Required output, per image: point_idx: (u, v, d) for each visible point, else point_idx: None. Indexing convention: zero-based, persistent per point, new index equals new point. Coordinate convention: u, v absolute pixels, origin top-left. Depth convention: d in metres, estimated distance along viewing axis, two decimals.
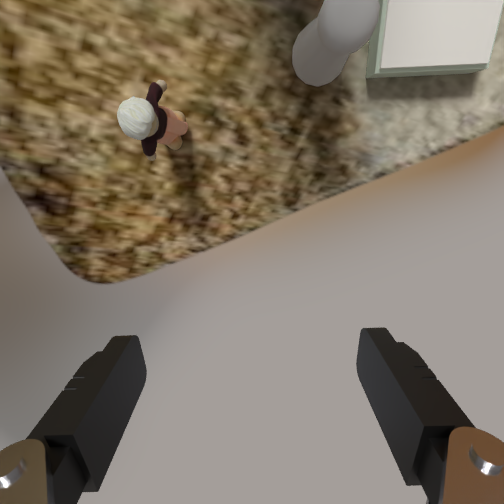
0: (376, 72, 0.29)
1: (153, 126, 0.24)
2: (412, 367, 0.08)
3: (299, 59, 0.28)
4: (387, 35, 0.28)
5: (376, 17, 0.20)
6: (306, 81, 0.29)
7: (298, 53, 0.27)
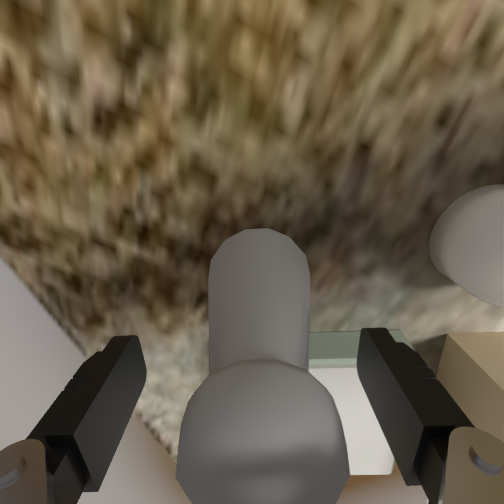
0: None
1: None
2: (412, 367, 0.08)
3: (241, 251, 0.13)
4: None
5: None
6: (212, 260, 0.15)
7: (251, 249, 0.13)
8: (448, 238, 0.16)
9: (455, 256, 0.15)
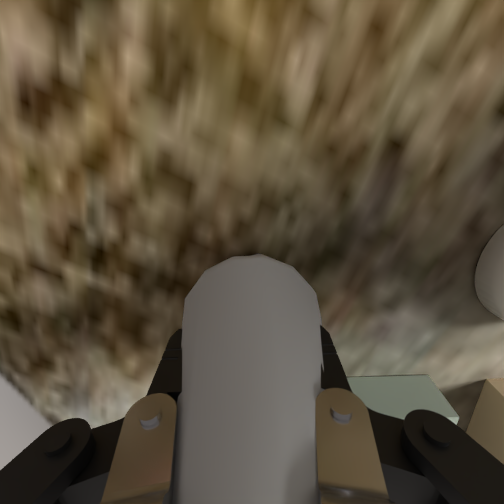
0: None
1: None
2: None
3: (224, 296, 0.09)
4: None
5: None
6: (186, 301, 0.11)
7: (240, 292, 0.09)
8: None
9: None
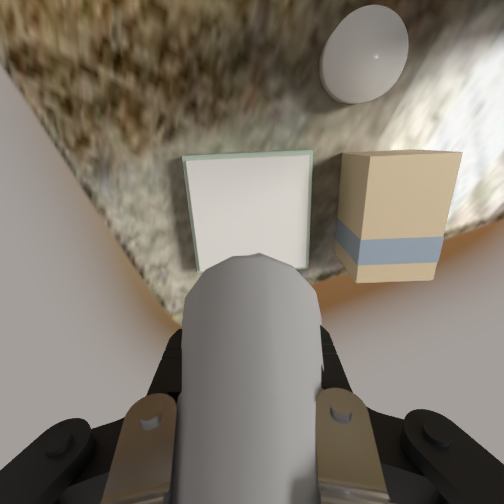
0: (182, 157, 0.25)
1: None
2: None
3: (224, 295, 0.09)
4: (216, 162, 0.25)
5: None
6: (186, 300, 0.11)
7: (240, 291, 0.09)
8: (324, 80, 0.24)
9: (331, 88, 0.23)
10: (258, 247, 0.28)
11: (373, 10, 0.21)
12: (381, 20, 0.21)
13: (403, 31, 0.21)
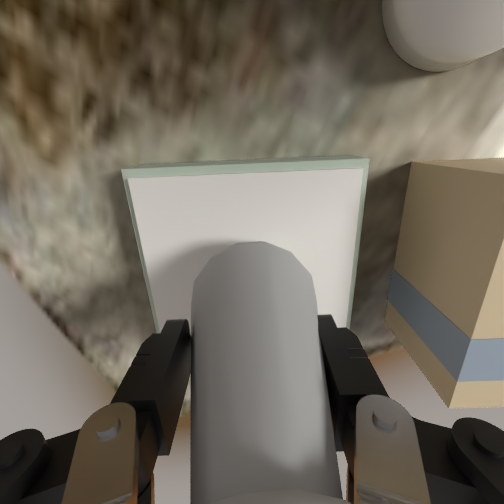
0: (123, 172, 0.13)
1: None
2: (344, 347, 0.08)
3: (232, 275, 0.10)
4: (186, 182, 0.13)
5: None
6: (196, 283, 0.12)
7: (246, 272, 0.10)
8: (433, 57, 0.12)
9: (462, 55, 0.11)
10: None
11: None
12: None
13: None
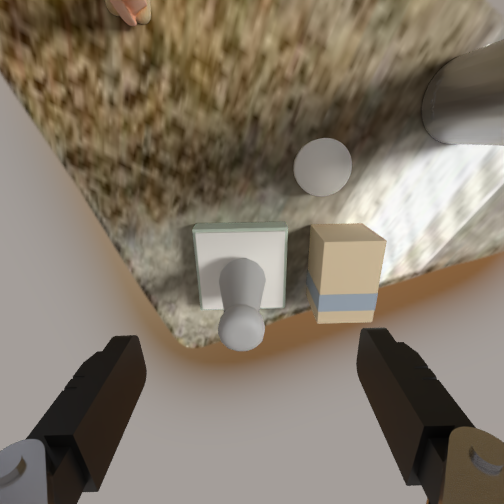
0: (193, 230, 0.34)
1: None
2: (412, 367, 0.08)
3: (235, 270, 0.31)
4: (217, 235, 0.34)
5: None
6: (221, 273, 0.33)
7: (239, 269, 0.31)
8: None
9: None
10: None
11: (298, 165, 0.31)
12: (304, 159, 0.31)
13: (313, 143, 0.30)
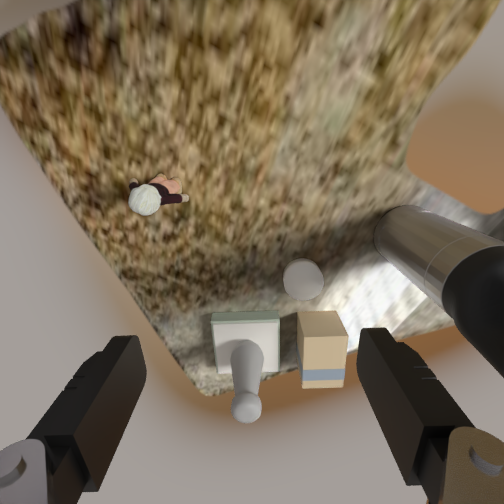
0: (211, 322, 0.48)
1: None
2: (412, 367, 0.08)
3: (241, 356, 0.45)
4: (229, 325, 0.47)
5: (244, 422, 0.38)
6: (232, 354, 0.46)
7: (244, 355, 0.44)
8: None
9: None
10: None
11: (289, 293, 0.45)
12: (289, 287, 0.44)
13: (286, 277, 0.44)
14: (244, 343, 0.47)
